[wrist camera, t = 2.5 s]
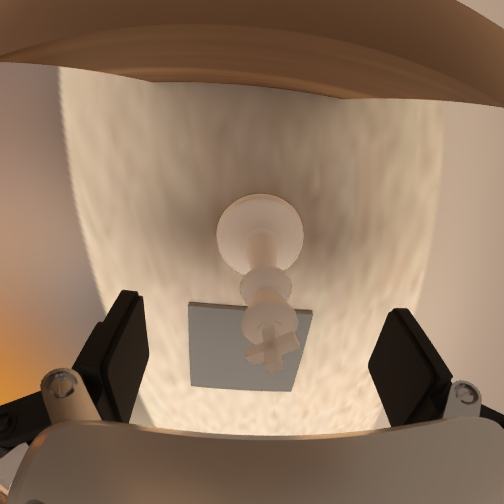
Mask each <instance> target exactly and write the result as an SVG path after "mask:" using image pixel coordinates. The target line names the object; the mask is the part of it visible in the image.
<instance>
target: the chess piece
mask: <svg viewBox="0 0 504 504" xmlns="http://www.w3.org/2000/svg"><path fill="white" fill-rule="evenodd" d="M216 237H217V244H218V249H219V252H220V254H221V256H222V258H223V259H224V261H225V262H226V263H227V264H228V265H229V266H230V267H231V268H232V269H234V270H235V271H237V272H239V273H241V274H243V275H245V276H244V277H243V279H242V281H241V284H240V293H241V296H242V298H243V300H244V301H245V303H246V304H247V305H248V307H247V309H246V310H245V312H244V314H243V317H242V320H241V329H242V332H243V334H244V336H245V337H246V338H247V339H248V340H249V341H250V342H252V343H254V344H256V345H254V346H251V347H249V348H246V359H247V360H248V362H249V363H250V364H251V366H253V365H256V364H259V363H262V362H264V365H265V367H266V368H267V370H268V371H269V373H270V374H272V373H275V372H278V371H281V370H283V369H284V368H283V361H282V355H284V354H286V353H289V352H292V351H294V350H297V349H300V346H299V341H298V338H297V336H296V334H295V333H296V331H297V328H298V317H297V314H296V312H295V311H294V309H293V308H292V307H291V306H290V304H289V303H287V300H288V299H289V297H290V294H291V290H292V284H291V280H290V278H289V276H288V275H287V274H286V273H285V272H284V270H286V269H287V268H289V267H290V266H291V265H292V264H293V263H294V262H295V260H296V259H297V257H298V256H299V254H300V252H301V249H302V246H303V239H304V235H303V225H302V222H301V219H300V217H299V215H298V213H297V212H296V210H295V209H294V208H293V207H292V206H291V205H290V204H289V203H288V202H286V201H285V200H283V199H281V198H279V197H277V196H274V195H269V194H252V195H248V196H245V197H242V198H240V199H238V200H236V201H235V202H233V203H232V204H231V205H230V206H229V207H228V208H227V209H226V210H225V211H224V212H223V214H222V216H221V217H220V220H219V222H218V226H217V232H216Z"/></svg>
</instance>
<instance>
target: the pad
mask: <svg viewBox="0 0 504 504" xmlns="http://www.w3.org/2000/svg"><path fill="white" fill-rule="evenodd" d="M246 309H247V307H240V306H227V305H214V304H203V303H192V302H189V305H188V318H189V354H190V378H191V386H196V387H207V388H219V389H233V390H251V391H286V392H291V391H292V387H293V384H294V381H295V377H296V374H297V371H298V367H299V364H300V360H301V357H302V353H303V350H304V346H305V342H306V339H307V335H308V331H309V328H310V324H311V320H312V316H313V313H312V311H306V310H294V311H295V312H296V314H297V317H298V328H297V331H296V333H295V334H296V336H297V338H298V341H299V346H300V349H297V350H294V351H292V352H289V353H286V354H284V355H282V361H283V368H284V369H283V370H281V371H278V372H275V373H272V374H270V373H269V371H268V370H267V368H266V367H265V365H264V362H262V363H259V364H256V365H253V366H251V364H250V363H249V362H248V360H247V359H246V348H249V347H251V346H254V345H256V344H254V343H252V342H250V341H249V340H248V339H247V338H246V337H245V336H244V334H243V332H242V329H241V320H242V317H243V314H244V312H245V310H246Z"/></svg>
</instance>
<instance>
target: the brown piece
mask: <svg viewBox="0 0 504 504" xmlns="http://www.w3.org/2000/svg"><path fill="white" fill-rule="evenodd" d="M0 62H15V63H32V64H43V65H54V66H62V67H70V68H78V69H85V70H92V71H98V72H104V73H110V74H115V75H121V76H126V77H131V78H136V79H140V80H145V81H149V82H208V83H227V84H241V85H252V86H262V87H271V88H279V89H287V90H294V91H301V92H307V93H313V94H319V95H324V96H330V97H335V98H340V99H363V98H399V99H426V100H442V101H454V102H464V103H474V104H483V105H489V106H496V107H503V108H504V29H503V28H501V27H500V26H498V25H497V24H495V23H494V22H492V21H490V20H489V19H487V18H486V17H484V16H482V15H481V14H479V13H478V12H476V11H474V10H472V9H471V8H469V7H467V6H465V5H464V4H462V3H460V2H458V1H456V0H0Z"/></svg>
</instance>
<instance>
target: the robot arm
mask: <svg viewBox="0 0 504 504" xmlns="http://www.w3.org/2000/svg"><path fill="white" fill-rule="evenodd" d="M148 359H149V346H148V338H147V330H146V321H145V312H144V302H143V297H142V296H139V295H138V292H137V291H129V290H122V291H121V292H120V294H119V296H118V297H117V299H116V301H115V302H114V304H113V306H112V308H111V309H110V311H109V313H108V314H107V316H106V318H105V320H104V321H103V322H98V323H97V324H96V326H95V327H94V329H93V331H92V333H91V335H90V336H89V338H88V340H87V341H86V343H85V345H84V347H83V349H82V350H81V352H80V354H79V356H78V357H77V359H76V361H75V363H74V365H73V367H72V369H68V368H58V369H54V370H52V371H50V372H49V373H47V374H46V375H45V376H44V377H43V379H42V381H41V384H40V388H41V391H39V392H36V393H33V394H31V395H28V396H26V397H23V398H20V399H17V400H15V401H12V402H9V403H6V404H4V405H1V406H0V504H504V415H503V414H501V413H499V412H497V411H495V410H493V409H490V408H488V407H486V406H484V405H482V404H481V401H482V399H481V394H480V391H479V390H478V389H477V387H475V386H474V385H473V384H471V383H469V382H467V381H460V380H459V381H456V382H454V383H453V384H452V382H451V379H452V377H453V375H452V374H451V372H450V371H449V369H448V367H447V366H446V365H445V363H444V361H443V360H442V358H441V357H440V355H439V354H438V352H437V350H436V349H435V347H434V346H433V344H432V343H431V341H430V340H429V339H428V337H427V336H426V334H425V332H424V331H423V330H422V328H421V327H420V325H419V324H418V322H417V321H416V319H415V318H414V317H413V315H412V314H411V312H410V311H409V310H408V309H407V308H394V309H393V310H392V311H391V312H389V313H388V315H387V318H386V320H385V323H384V325H383V328H382V331H381V333H380V336H379V338H378V341H377V343H376V345H375V348H374V350H373V353H372V355H371V357H370V360H369V363H368V369H369V372H370V374H371V377H372V379H373V382H374V384H375V387H376V389H377V392H378V394H379V397H380V399H381V402H382V404H383V407H384V409H385V412H386V415H387V417H388V420H389V422H390V425H391V427H390V428H383V429H376V430H367V431H358V432H348V433H336V434H321V435H297V436H253V435H228V434H213V433H201V432H191V431H182V430H173V429H164V428H157V427H149V426H143V425H136V424H129V420H130V417H131V413H132V410H133V407H134V404H135V400H136V397H137V394H138V390H139V387H140V384H141V381H142V378H143V374H144V371H145V368H146V365H147V362H148ZM11 483H12V485H11V487H10V491H9V493H8V489H9V485H10V484H11Z"/></svg>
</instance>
